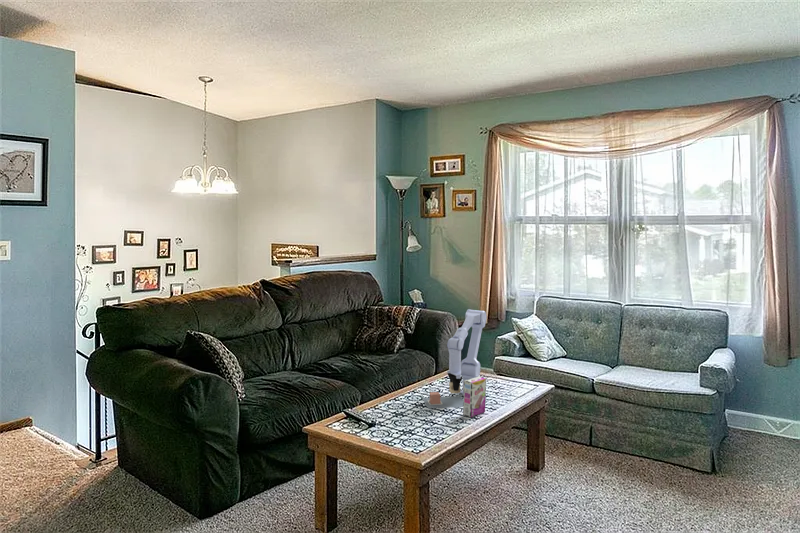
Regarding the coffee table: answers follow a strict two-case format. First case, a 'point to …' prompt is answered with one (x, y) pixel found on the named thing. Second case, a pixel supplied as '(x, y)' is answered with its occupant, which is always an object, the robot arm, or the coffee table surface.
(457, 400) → the grey flat plate
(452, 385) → the maple block
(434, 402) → the brick-red base block
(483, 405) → the candy bar box
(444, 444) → the coffee table surface
